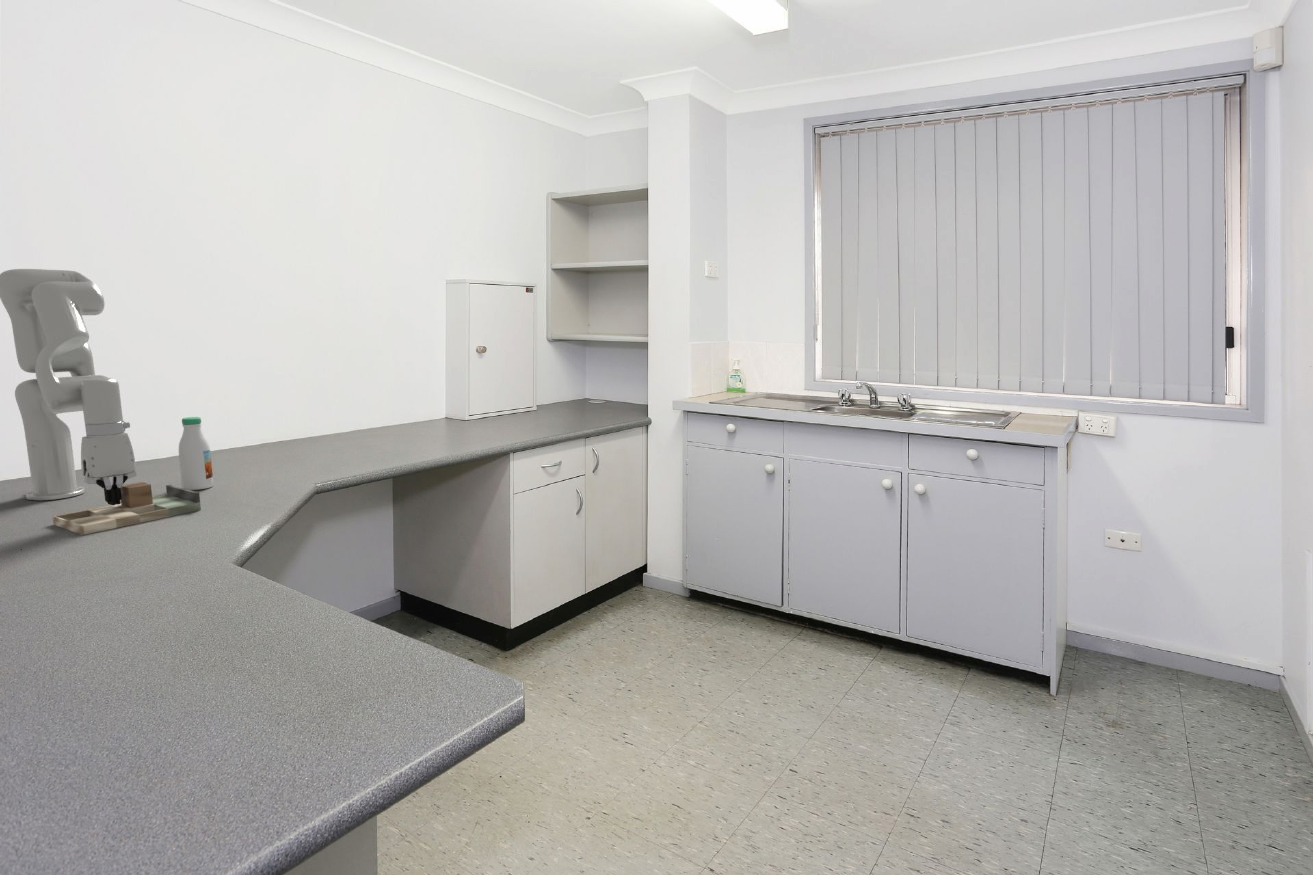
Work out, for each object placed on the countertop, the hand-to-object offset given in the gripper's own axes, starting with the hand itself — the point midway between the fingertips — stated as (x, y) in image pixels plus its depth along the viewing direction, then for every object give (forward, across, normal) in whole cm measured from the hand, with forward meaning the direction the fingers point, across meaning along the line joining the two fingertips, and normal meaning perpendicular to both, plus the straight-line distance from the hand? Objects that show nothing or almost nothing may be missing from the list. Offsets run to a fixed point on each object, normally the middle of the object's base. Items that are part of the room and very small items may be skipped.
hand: (114, 503), depth 188 cm
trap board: (+3, -2, +3) cm, 5 cm away
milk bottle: (+3, -27, -15) cm, 31 cm away
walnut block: (+1, -5, 0) cm, 5 cm away
